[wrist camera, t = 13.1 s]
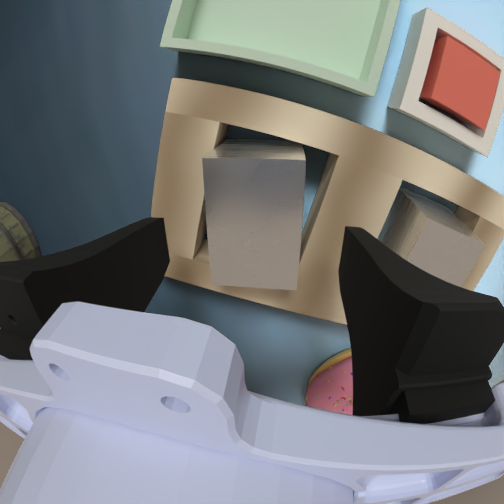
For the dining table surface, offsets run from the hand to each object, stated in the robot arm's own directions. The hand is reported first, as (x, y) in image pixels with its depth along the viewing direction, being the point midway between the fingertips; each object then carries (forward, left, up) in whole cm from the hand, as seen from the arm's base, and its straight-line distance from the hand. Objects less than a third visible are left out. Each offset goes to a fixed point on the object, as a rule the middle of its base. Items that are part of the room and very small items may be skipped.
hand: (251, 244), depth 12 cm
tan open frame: (-4, 0, -6) cm, 7 cm away
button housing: (-8, -10, -6) cm, 14 cm away
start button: (-8, -10, -6) cm, 14 cm away
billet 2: (-9, 0, -6) cm, 11 cm away
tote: (+2, -13, -6) cm, 15 cm away
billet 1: (0, 0, -6) cm, 6 cm away
